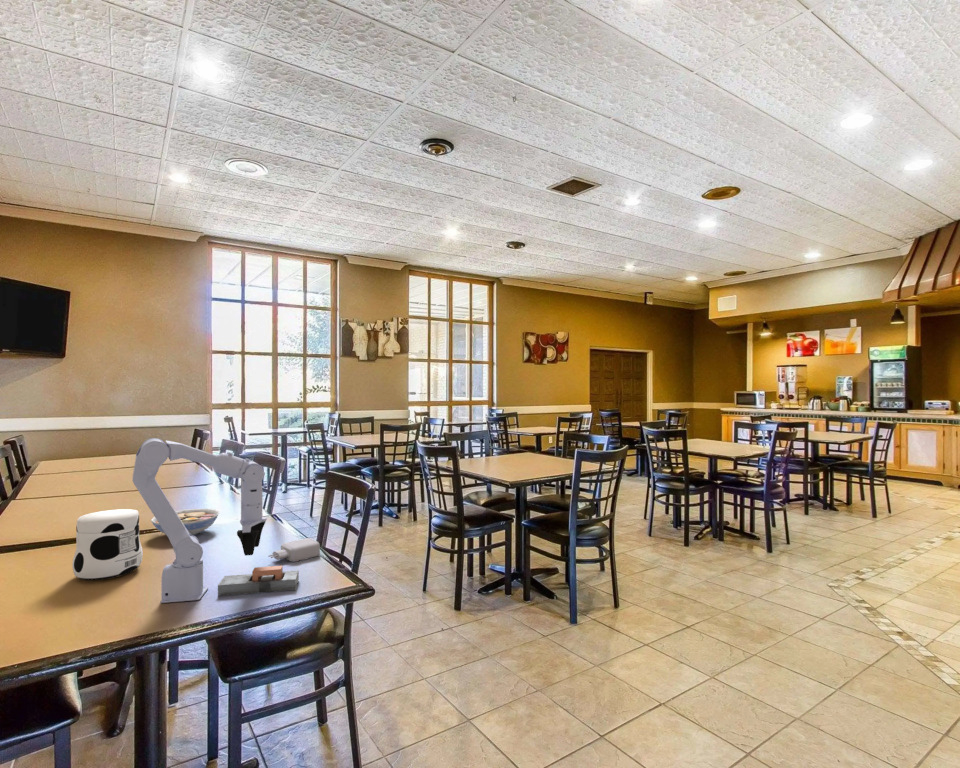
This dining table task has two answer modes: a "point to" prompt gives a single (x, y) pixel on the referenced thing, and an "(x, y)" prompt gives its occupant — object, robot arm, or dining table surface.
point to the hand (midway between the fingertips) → (251, 550)
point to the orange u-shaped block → (267, 572)
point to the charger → (298, 550)
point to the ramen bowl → (193, 520)
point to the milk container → (107, 544)
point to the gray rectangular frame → (257, 584)
